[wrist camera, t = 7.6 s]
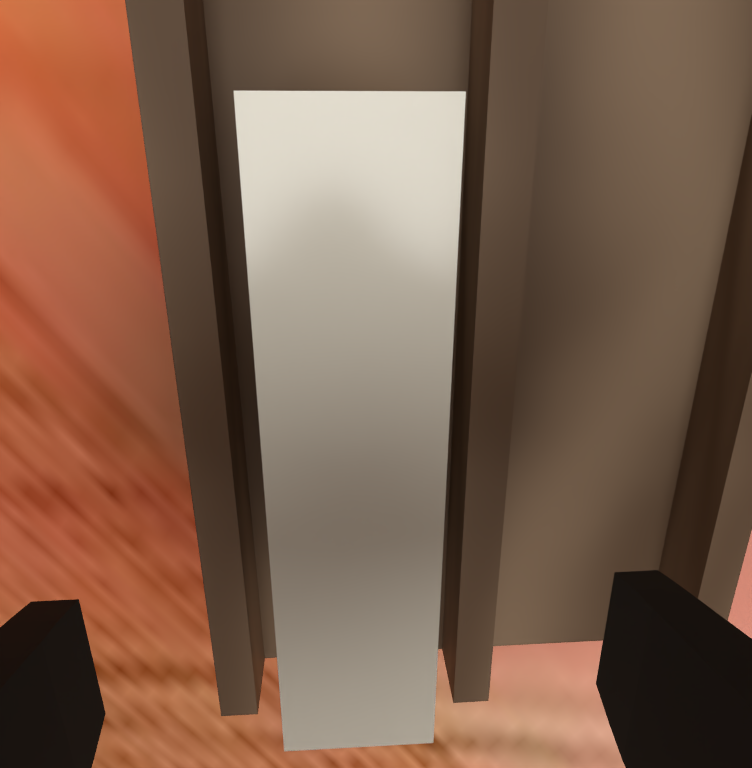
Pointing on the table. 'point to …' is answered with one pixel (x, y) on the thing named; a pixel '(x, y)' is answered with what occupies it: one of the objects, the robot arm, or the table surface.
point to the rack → (493, 296)
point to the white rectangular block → (353, 395)
